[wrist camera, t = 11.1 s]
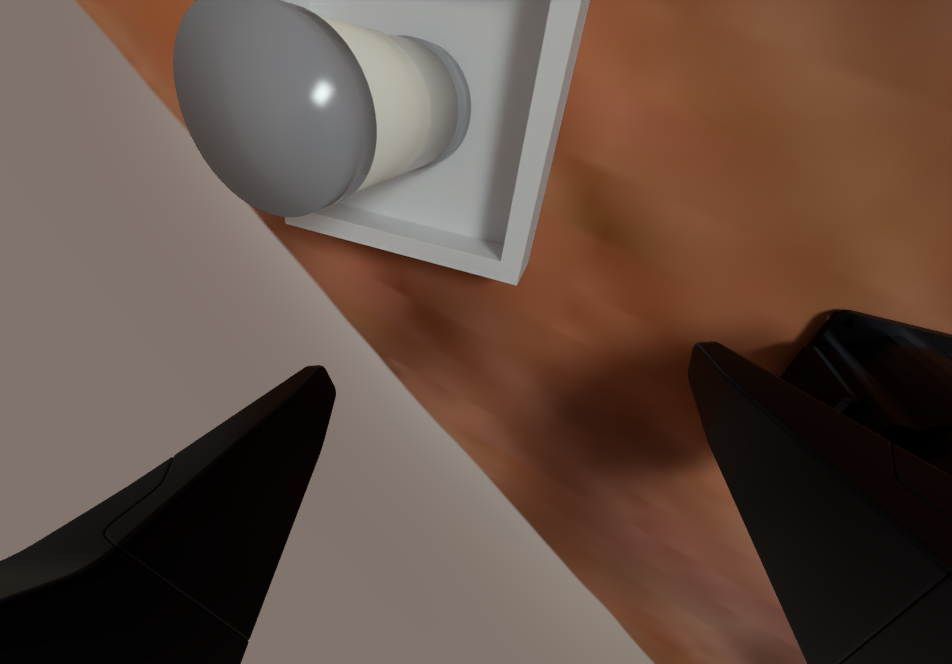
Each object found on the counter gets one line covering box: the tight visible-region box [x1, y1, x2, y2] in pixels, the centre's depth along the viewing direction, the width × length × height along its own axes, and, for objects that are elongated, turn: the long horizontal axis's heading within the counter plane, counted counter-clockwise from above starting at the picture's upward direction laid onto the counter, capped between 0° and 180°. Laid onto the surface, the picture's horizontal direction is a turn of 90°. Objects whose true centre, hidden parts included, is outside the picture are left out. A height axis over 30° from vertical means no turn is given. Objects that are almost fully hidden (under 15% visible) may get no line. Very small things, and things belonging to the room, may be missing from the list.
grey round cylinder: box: [173, 0, 471, 217], centre depth 14 cm, size 5×5×10 cm
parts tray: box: [282, 0, 590, 285], centre depth 17 cm, size 13×13×3 cm
